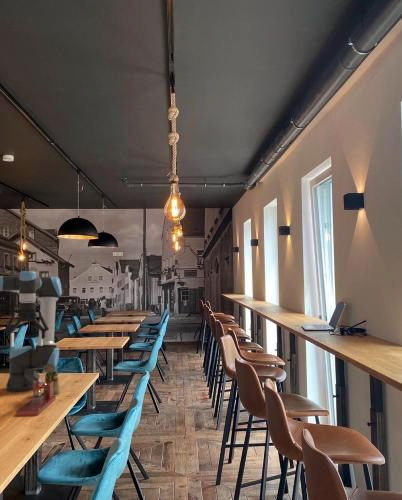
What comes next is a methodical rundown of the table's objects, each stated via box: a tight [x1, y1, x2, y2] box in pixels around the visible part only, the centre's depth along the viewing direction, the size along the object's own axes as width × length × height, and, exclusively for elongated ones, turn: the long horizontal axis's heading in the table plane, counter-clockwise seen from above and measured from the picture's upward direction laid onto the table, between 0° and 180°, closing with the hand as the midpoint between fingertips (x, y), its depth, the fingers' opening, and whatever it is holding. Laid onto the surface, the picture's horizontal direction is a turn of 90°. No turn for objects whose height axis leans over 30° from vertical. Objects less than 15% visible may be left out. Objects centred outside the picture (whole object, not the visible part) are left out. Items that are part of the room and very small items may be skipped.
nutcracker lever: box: [24, 369, 46, 390], centre depth 210 cm, size 23×4×2 cm, turn 1°
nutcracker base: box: [15, 381, 57, 417], centre depth 210 cm, size 25×10×10 cm, turn 1°
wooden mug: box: [42, 363, 61, 396], centre depth 232 cm, size 9×14×18 cm, turn 8°
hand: (26, 346), depth 209 cm, fingers open, 13 cm apart
